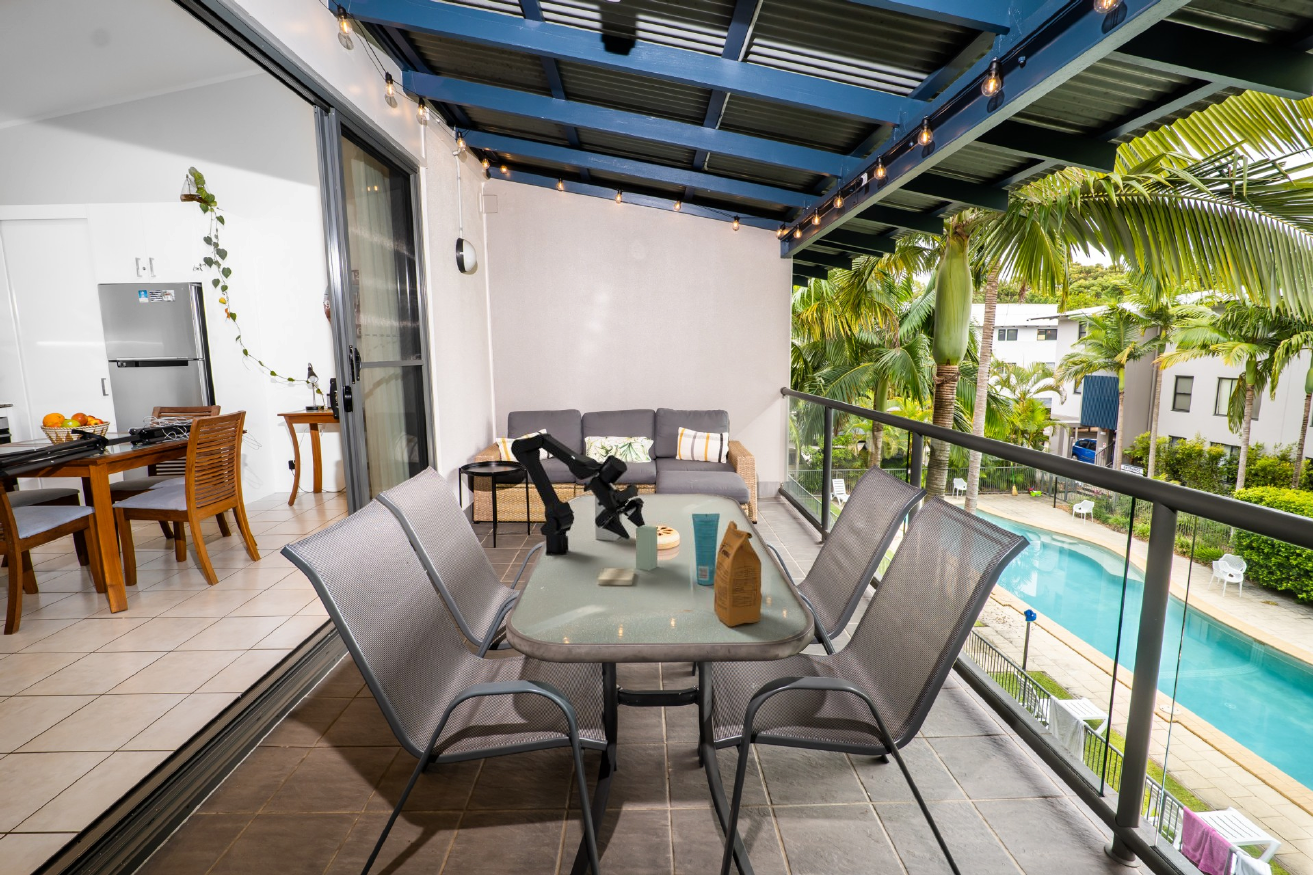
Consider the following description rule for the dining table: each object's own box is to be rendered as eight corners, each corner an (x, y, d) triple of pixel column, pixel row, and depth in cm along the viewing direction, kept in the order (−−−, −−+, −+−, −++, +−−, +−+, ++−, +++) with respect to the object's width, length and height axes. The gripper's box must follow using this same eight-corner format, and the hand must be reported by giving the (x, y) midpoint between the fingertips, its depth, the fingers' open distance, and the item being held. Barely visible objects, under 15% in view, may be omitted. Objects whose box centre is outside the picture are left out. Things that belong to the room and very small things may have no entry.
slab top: (597, 584, 161) (597, 579, 161) (602, 573, 170) (602, 568, 170) (631, 585, 161) (631, 579, 161) (634, 573, 170) (634, 568, 170)
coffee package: (747, 604, 149) (749, 517, 147) (765, 626, 137) (767, 531, 135) (708, 607, 148) (709, 520, 145) (723, 629, 136) (724, 534, 133)
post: (636, 570, 174) (635, 528, 173) (644, 566, 178) (643, 524, 177) (649, 573, 172) (649, 530, 171) (657, 568, 176) (657, 526, 174)
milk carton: (595, 539, 205) (594, 484, 203) (603, 533, 212) (602, 480, 210) (614, 541, 203) (614, 485, 201) (622, 535, 210) (621, 481, 208)
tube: (716, 578, 168) (717, 510, 165) (721, 584, 163) (721, 515, 161) (690, 580, 166) (690, 512, 164) (694, 586, 162) (694, 516, 159)
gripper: (602, 481, 168) (636, 525, 164) (638, 471, 184) (670, 510, 180) (580, 506, 173) (613, 549, 169) (617, 494, 189) (647, 533, 185)
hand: (637, 534), depth 176 cm, fingers open, 9 cm apart
